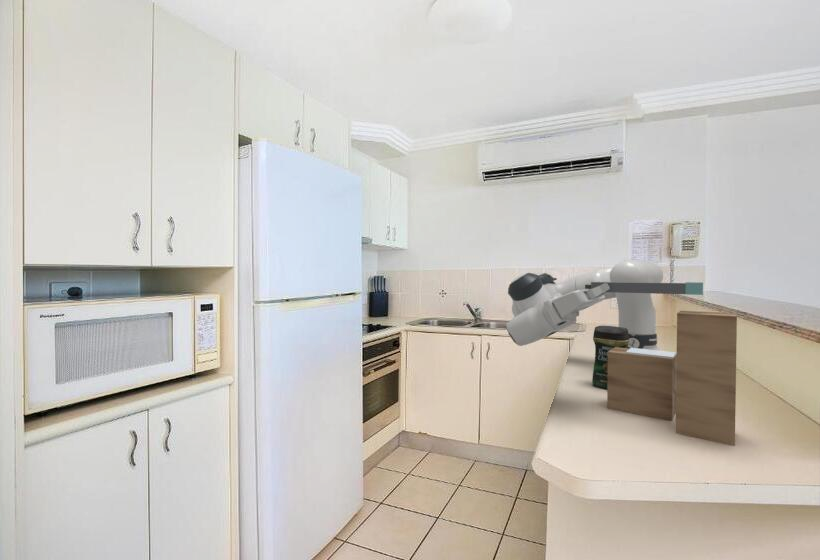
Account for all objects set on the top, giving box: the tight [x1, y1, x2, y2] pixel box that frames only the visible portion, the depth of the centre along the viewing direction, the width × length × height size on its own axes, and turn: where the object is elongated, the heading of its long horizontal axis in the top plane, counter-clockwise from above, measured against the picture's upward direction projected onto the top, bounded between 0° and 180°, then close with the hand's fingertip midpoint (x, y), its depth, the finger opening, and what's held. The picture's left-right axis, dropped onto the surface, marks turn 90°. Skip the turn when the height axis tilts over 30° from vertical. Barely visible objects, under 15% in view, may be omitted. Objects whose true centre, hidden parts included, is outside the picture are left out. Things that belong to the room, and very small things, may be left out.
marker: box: [585, 281, 704, 296], centre depth 95 cm, size 3×24×3 cm, turn 51°
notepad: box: [626, 348, 677, 359], centre depth 100 cm, size 7×10×1 cm
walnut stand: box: [606, 310, 738, 446], centre depth 95 cm, size 16×26×26 cm, turn 51°
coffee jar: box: [591, 325, 629, 390], centre depth 122 cm, size 10×8×19 cm
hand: (610, 285), depth 98 cm, fingers closed on marker, 2 cm apart
